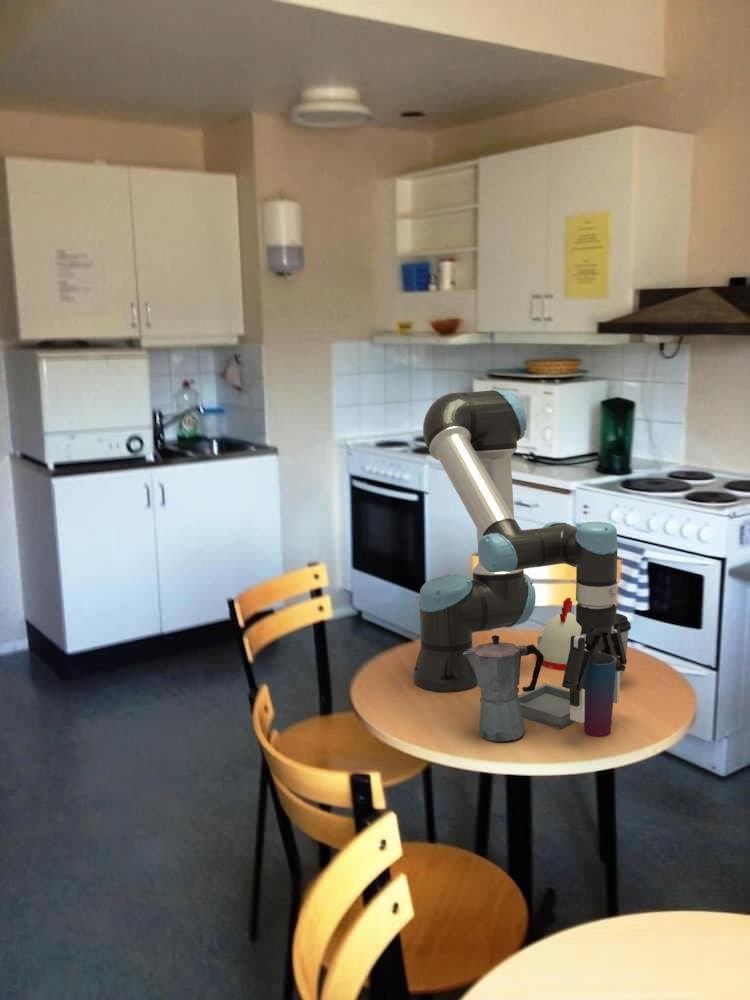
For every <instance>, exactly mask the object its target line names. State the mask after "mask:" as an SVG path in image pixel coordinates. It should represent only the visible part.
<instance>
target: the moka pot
mask: <svg viewBox="0 0 750 1000" xmlns="http://www.w3.org/2000/svg"><path fill="white" fill-rule="evenodd" d="M490 637H491V640H492V642H488V643H482V644H478V645H476V646H475V647H473V648H470V649H467V651H465V652H464V653H463V655H465V656H466V657H467V659H468V661H469V663H470V664H471V666H472V668H473V670H474V672H475V674H476V678H477V683H478V685H477V687H478V688H479V689H480V696H481V697H480V699H479V702H480V713H479V726H478V727H479V728H478V730H479V731H478V733H479V735H480V736H481V737H482V738H483V739H484V740H487V741H492V742H499V743H500V742H501V743H502V742H510V741H514V740H517V739H520V738H521V737H523V736H524V734H525V732H526V727H525V721H524V717H523V716H522V712H521V706H520V702H519V697H518V696H519V695H518V693H519V691H520V688H519V685H520V681H521V680H520V677H521V661H522V657H526V656H530V655H535V656H537V660H536V659H535V664H534V667H533V672H532V677H531V681H530V684H529V686H523V687H522V688H521V690H522V693H525V692H527V691H533V690H534V689H535V688H536V687H537V683H538V679H539V676H540V671H541V669H542V667H543V666H542V663H543V660H544V656H543V654H542V653H540V651H539V650H537V646H535V644H533V643H532V644H529V645H516V644H515V643H511V642H500V636H499V635H498V634H497V635H496V634H495V635H492V636H490Z"/></svg>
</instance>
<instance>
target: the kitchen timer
mask: <svg viewBox="0 0 750 1000" xmlns="http://www.w3.org/2000/svg"><path fill="white" fill-rule="evenodd" d="M572 607H573V601H572V597H566V598H565V599H564V600H563V602H562V606H561V612H560V613H558V614H556V615H554V616H553V617H552V618H551V619H550V620H549V621H548V622H547V623H546V625H545V626H544V627H542V629H541V630H540V633H538V638H537V645H536V648H537V650H539V651H540V653H542V654H543V656H544V660H543V663H542V666H541V667H544V668H547V669H551V670H556V671H562V672H563V671H564V672H565V669H566V665H567V660H568V656H569V651H570V639H571V636H577V637H578V636H580V634H581V629H582V628H581V626H580V625H579V624H578V623H577V621H576V614H574V613H572ZM585 651H587V650H586V649H585ZM535 656H536V655H535ZM535 658H536V659H535V661H536V660H537V656H536V657H535Z"/></svg>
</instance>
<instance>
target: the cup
mask: <svg viewBox="0 0 750 1000" xmlns="http://www.w3.org/2000/svg"><path fill="white" fill-rule="evenodd" d="M616 661H617V659H616V657H614V656H613V655H610V654H606V653H598V652H597V654H596V657H595V658H593V659H592V661H591V664H590V667H589V670H588V672H587V675H586V678H585V681H584V683H583V686H582V689H585V711H584V722H583V725H584V726H583V727H584V733H585V734H586V735H589V736H592V737H595V738H596V737H597V738H599V737H600V738H602V737H607V736H610V734H611V733H612V723H613V722H612V721H613V709H614V708H613V707H614V703H613V698H614V686H615V673H616Z"/></svg>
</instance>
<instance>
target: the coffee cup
mask: <svg viewBox="0 0 750 1000" xmlns="http://www.w3.org/2000/svg"><path fill="white" fill-rule="evenodd" d="M616 622H619V623H620V633H621V637H622V642H623V646H624V650H625V654H626V655H627V651H628V645H629V644H628V643H629V631H630V630H631V629H632V626H631V625H632V624H631V622H630V621H629V619H628V617H627V616H626V615H624V614H620V613H617V612H616ZM598 653H601V651H599V652H598ZM618 657H620V656H618ZM623 665H624V664H623ZM624 666H625V665H624ZM623 677H624V671H621V670H620V686H621V685H622V683H623Z"/></svg>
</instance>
